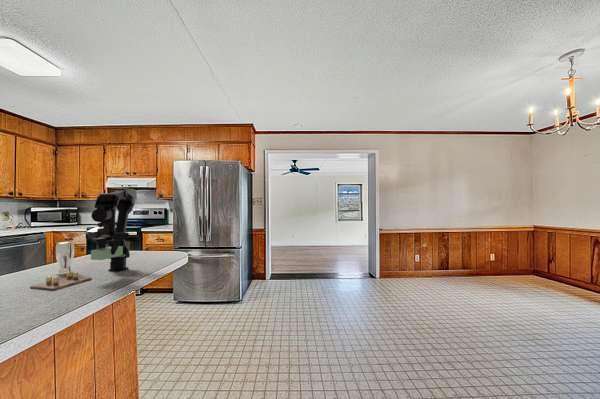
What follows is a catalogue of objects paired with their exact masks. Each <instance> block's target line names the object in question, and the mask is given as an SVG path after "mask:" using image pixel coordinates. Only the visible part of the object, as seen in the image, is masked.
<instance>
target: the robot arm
mask: <svg viewBox="0 0 600 399" xmlns="http://www.w3.org/2000/svg"><path fill="white" fill-rule="evenodd" d="M96 197H97V198H96V201H95V204H94V205H93V206H94V207H93V208H94V210H92V213H91V216H90V217H91V219H92V220H93V221H94V222H97V224H96V227H93V228H90V229H89V230H87V231H86V234H85V239H90V240H91V241H93V243H95V244H96V246H97V247H98V248H97V249H101V248H106V247H110V246H111V253H112V255H113V254H115V252H116V250H117V248H118V247H119V246H123V255H120V256H116V257H112V258H108V259H107V260H109V259H110V262H109V264H110V265H109V269H108V270H107V271H108V272H112V271H113V272H121V271H124V270H127V269H129V267H127V258H130V256H131V255H130V250H129V247H128V243H127V242H126V240H127V239H130V233H129V232H127V226H128V219H129V214H130V213H131V212H132V211H133V209H134V206H135V204H136V203H135V199H134V196H133V195H131V194H130V193H129V192H128V190H127V189H115V190H114V191H112V192H109V193H107V192H106V193H105V192H101V193H99V194H98V195H97V196H96ZM116 211H118V214H117V220H116ZM108 238H110V239H108ZM107 241H108V245H107ZM106 245H107V246H106Z"/></svg>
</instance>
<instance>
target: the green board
mask: <svg viewBox="0 0 600 399" xmlns="http://www.w3.org/2000/svg"><path fill="white" fill-rule="evenodd" d="M120 255H123V246H119V247H118V248H117V250H116V252H115V254H113V255H112V253H111V246H110V247H108V246H105V248H101V249H99V248H97V249H93V250H90V260H92V261H104V260H109V259H108V258H112V257H116V256H120Z"/></svg>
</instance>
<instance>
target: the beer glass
mask: <svg viewBox="0 0 600 399" xmlns="http://www.w3.org/2000/svg"><path fill="white" fill-rule="evenodd" d="M74 257H75V241H72V240H71V241H60V242H59V241H58V242H56V244H55V258H56V263H57V270H56V275H57V276H60V275H61V276H64V275H66V272H72V274H73V273H74V268H73V261H74Z"/></svg>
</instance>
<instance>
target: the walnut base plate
mask: <svg viewBox="0 0 600 399" xmlns="http://www.w3.org/2000/svg"><path fill="white" fill-rule="evenodd" d="M65 275H66V276H65V277H59V276H54V277H53V276H51V275H50V276H46V278H45V281H44V282H40V283H37V284H33V285H29V286H30V287H29V288H30V289H34V290H42V291H43V290H44V291H52V292H53V291H56V290H60V289H64V288H67V287H70V286H73V285H77V284H81V283H84V282H88V281H91V280H92V279H93V278H92V277H88V276H79V272H78V271H75V272H74V271H73V273H72V272H66V274H65Z"/></svg>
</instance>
